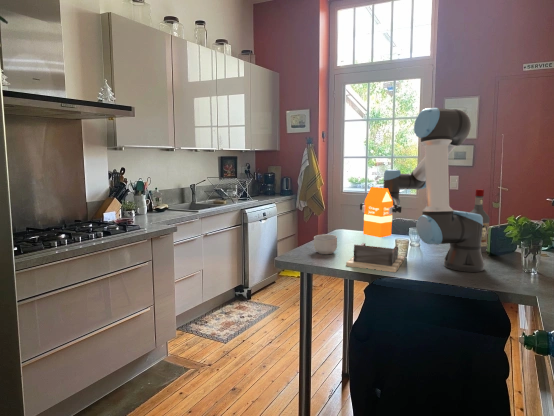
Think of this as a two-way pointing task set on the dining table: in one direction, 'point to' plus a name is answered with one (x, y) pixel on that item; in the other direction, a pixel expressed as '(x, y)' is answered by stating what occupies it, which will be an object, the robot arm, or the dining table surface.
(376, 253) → the keeper cradle
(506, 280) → the dining table surface
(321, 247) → the teacup
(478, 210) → the liquor
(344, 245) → the dining table surface
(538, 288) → the dining table surface
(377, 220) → the orange juice
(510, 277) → the dining table surface
